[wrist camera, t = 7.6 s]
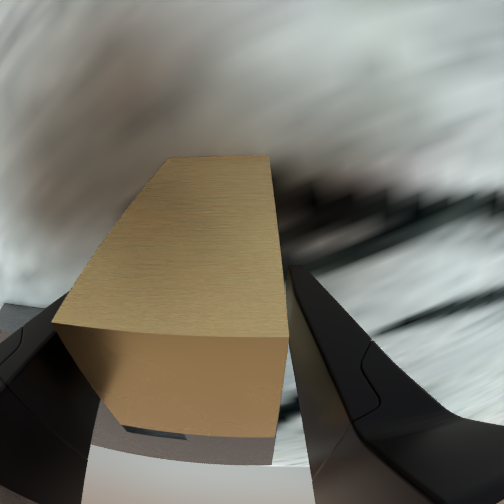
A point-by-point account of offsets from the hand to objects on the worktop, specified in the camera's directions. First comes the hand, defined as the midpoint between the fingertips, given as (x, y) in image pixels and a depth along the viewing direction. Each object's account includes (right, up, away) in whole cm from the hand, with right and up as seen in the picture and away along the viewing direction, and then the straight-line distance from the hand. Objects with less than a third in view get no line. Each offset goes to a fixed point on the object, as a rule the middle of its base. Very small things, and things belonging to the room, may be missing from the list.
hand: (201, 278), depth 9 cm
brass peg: (0, +3, +4) cm, 5 cm away
